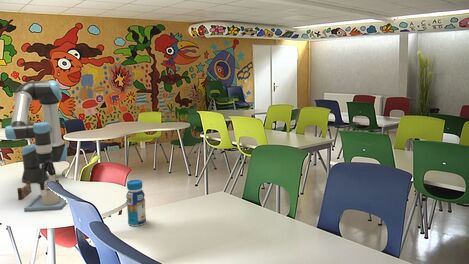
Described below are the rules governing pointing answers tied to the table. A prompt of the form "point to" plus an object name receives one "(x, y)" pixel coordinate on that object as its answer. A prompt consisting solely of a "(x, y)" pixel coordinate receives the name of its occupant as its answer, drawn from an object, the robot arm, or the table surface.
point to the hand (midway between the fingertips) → (48, 191)
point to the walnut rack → (26, 190)
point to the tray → (39, 206)
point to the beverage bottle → (135, 203)
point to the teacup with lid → (50, 197)
